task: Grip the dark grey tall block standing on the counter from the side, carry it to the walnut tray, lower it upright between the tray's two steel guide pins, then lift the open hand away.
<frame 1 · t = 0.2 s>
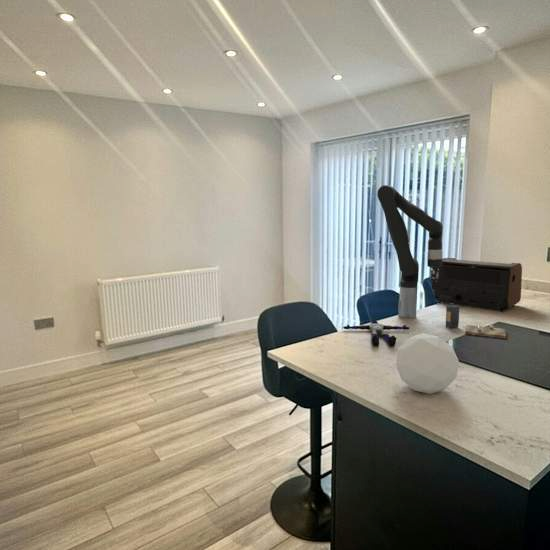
hand: (434, 287, 214), 18 cm above the table, tool pointing down, fingers open, 8 cm apart
geometric sphere: (425, 389, 134), on the table
radio: (473, 305, 248), on the table
dark grey tall block: (451, 327, 202), on the table
drive tray: (485, 333, 192), on the table
toy: (378, 337, 190), on the table
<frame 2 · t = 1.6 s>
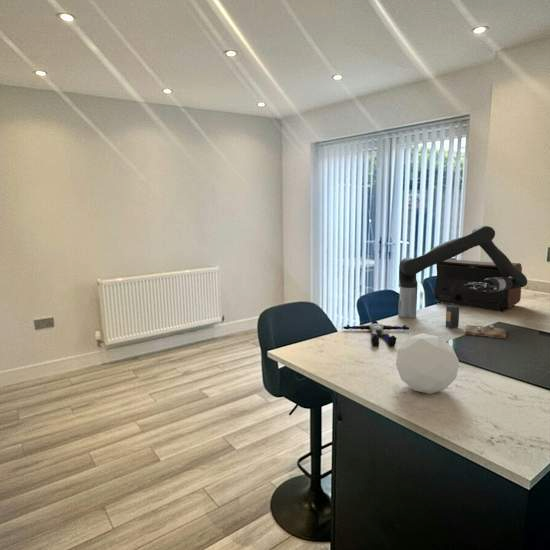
hand: (470, 288, 203), 19 cm above the table, tool horizontal, fingers open, 8 cm apart
nothing on the table moved.
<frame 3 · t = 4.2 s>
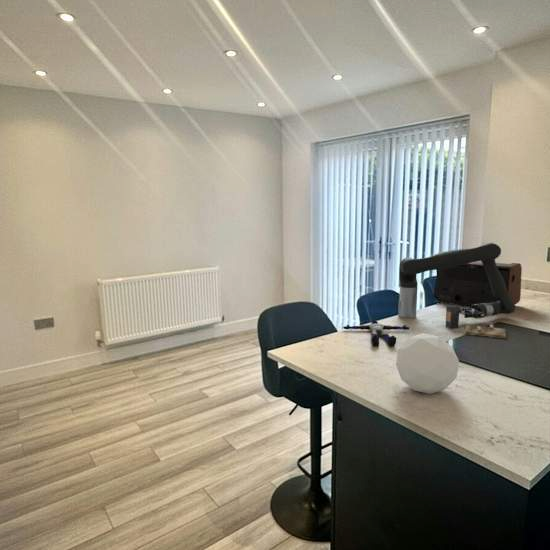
hand: (458, 313, 203), 6 cm above the table, tool horizontal, fingers open, 8 cm apart
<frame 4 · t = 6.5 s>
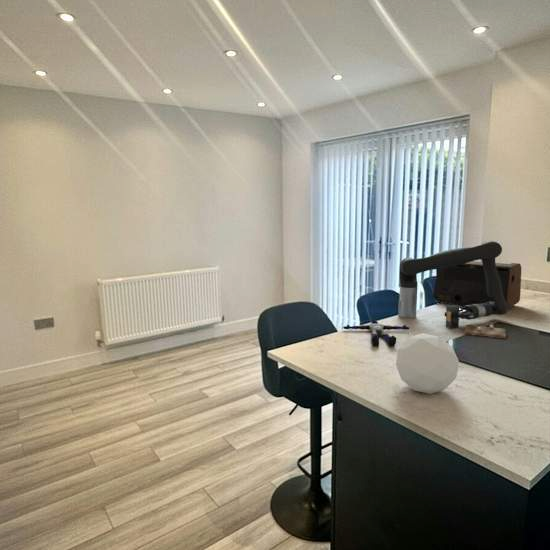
hand: (448, 315, 200), 7 cm above the table, tool horizontal, fingers closed on dark grey tall block, 3 cm apart
dark grey tall block: (452, 327, 202), on the table, touching gripper
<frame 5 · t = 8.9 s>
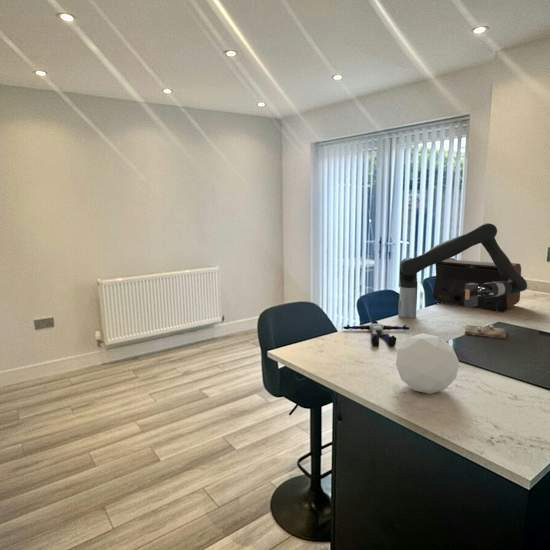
hand: (467, 293, 193), 19 cm above the table, tool horizontal, fingers closed on dark grey tall block, 3 cm apart
dark grey tall block: (470, 305, 195), point 12 cm above the table, touching gripper
when the fingers open (9 cm above the table, at t = 11.1 s): dark grey tall block stays where it is, resting on drive tray.
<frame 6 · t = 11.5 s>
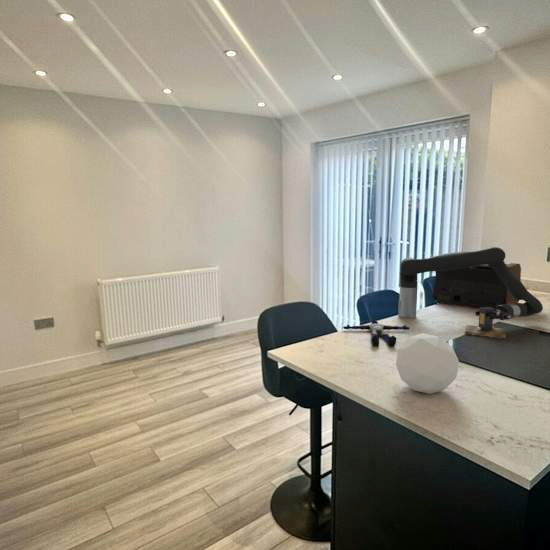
hand: (482, 315, 189), 9 cm above the table, tool horizontal, fingers open, 7 cm apart
dark grey tall block: (485, 330, 191), point 1 cm above the table, touching drive tray
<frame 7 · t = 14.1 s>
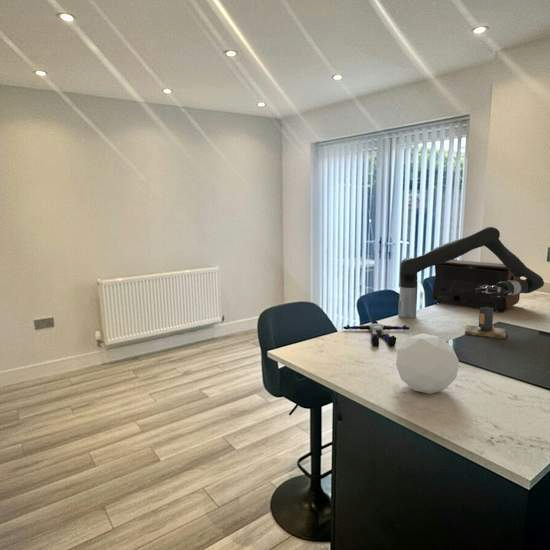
hand: (483, 293, 188), 20 cm above the table, tool horizontal, fingers open, 8 cm apart
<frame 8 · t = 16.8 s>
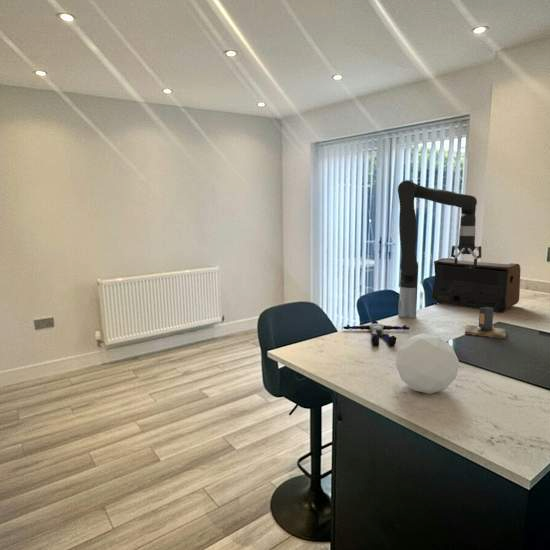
hand: (465, 265, 208), 30 cm above the table, tool pointing down, fingers open, 8 cm apart
at the end: dark grey tall block 0.1 cm off-centre on the drive tray, point 1.5 cm above the drive tray's base; dark grey tall block tilted 0°; the gripper is holding nothing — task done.
